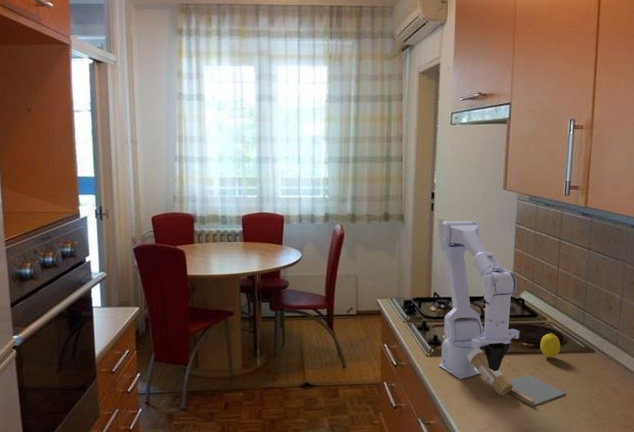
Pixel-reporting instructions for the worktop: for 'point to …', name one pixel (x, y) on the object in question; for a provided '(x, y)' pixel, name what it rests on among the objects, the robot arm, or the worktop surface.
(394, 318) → the worktop surface
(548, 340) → the lemon
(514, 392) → the mat
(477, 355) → the sprinkles bottle
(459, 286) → the robot arm
